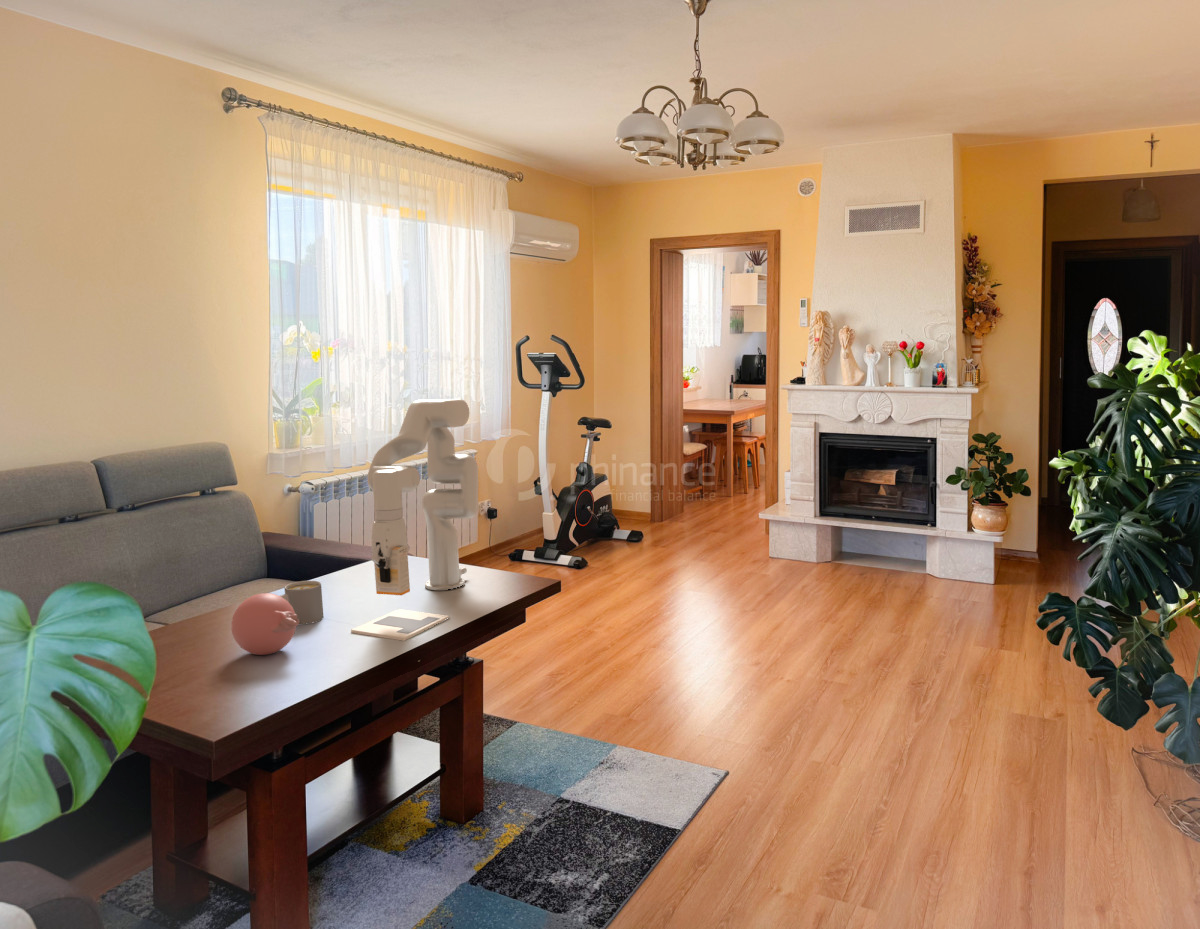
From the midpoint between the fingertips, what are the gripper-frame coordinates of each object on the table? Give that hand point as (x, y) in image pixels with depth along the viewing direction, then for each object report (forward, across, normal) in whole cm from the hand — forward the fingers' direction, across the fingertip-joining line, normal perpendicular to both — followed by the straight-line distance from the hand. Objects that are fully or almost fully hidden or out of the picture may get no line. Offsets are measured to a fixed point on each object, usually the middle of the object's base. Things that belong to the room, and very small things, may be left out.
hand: (392, 578), depth 239 cm
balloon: (+13, +31, -14) cm, 36 cm away
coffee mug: (+13, +7, -29) cm, 33 cm away
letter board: (+13, 0, +2) cm, 13 cm away
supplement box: (+4, 0, 0) cm, 4 cm away
